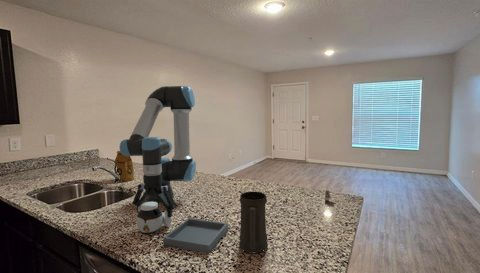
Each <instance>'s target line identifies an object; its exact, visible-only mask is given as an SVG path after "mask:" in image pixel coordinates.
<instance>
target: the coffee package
mask: <svg viewBox="0 0 480 273" xmlns="http://www.w3.org/2000/svg"><path fill="white" fill-rule="evenodd" d="M116 153H117V154H116V156H115V160H114V166H115V165H116V164H117V172H118V173H119V175H120V180H119V181H121V182H128V183H129V182H131V181H133V180H135V178H134V177H135V176H134V171H135V170H134V163H133V159H132V156H125V155H122V154H121V152H120V150H117V151H116Z"/></svg>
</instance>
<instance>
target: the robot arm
mask: <svg viewBox="0 0 480 273" xmlns="http://www.w3.org/2000/svg"><path fill="white" fill-rule="evenodd" d="M195 100H196V99H195V95H194V92H193V89H192V88H191V87H190V86H187V85H186V86H185V85H178V86H177V85H173V86H170V85H169V86H160V87H159V88H156V89H155V90H154V91H152V93H150V94H149V95H148V97H147V99H146V101H145V107H144V108H143V111H142V112H141V115H140V117H139V119H138V121H137V122H136V125H135V127H134V128H133V131H132V132H131V134H130V136H129V139H128V138H127V139H123V140H121V141H120V143H119V151H120V152H121V154H122V155H125V156H130V157H141V158H142V173H143V175H142V177H143V182H142V183H139V184H137V190H136V192H135V195H134V198H133V199H132V205H133V206H134V205H135V206H136V213H137V214H138V212H139V211H140V210H141V204H143V203H145V200H146V201H147V202H157V203H162V205H163V207H165V210H164V213H165V221H166V226H168V225H169V224H171V223H172V216H173V210H174V209H176V207H177V205H176V202H175V200H174V197H175V196H174V191H173V188H172V186H171V182H191V181H193V180H194V178H195V174H196V170H197V169H196V168H197V163H196V161H195V160H193V159H194V158H193V156H191V152H190V151H191V149H190V147H191V146H190V113H191V112H192V108H194V106H195V104H196V101H195ZM165 108H170V111H171V112H172V113H173V144H172V142H171V141H170V140H169V139H166V138H160V137H158V136H150V134H151V132H152V130H153V127H154V125H155V123H156V121H157V118H158V116H159V113H160V112H162V111H163V109H165ZM172 145H174V147H173V146H172ZM172 149H174V155H173V156H172V157H171V160H170V158H169V157H164V156H167V155H168V154H169V153H170V152H172ZM144 190H145V191H144ZM143 191H144V192H143ZM166 226H165V227H166Z"/></svg>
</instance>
